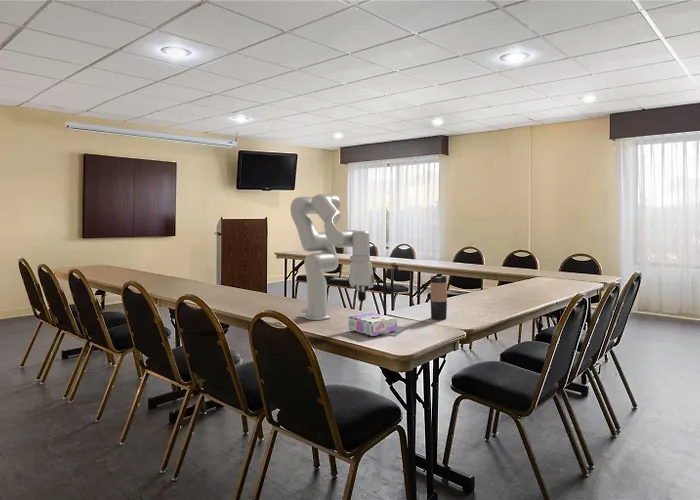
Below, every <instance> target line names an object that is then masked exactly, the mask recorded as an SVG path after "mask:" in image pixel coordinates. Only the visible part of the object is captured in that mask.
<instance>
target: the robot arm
mask: <svg viewBox="0 0 700 500" xmlns="http://www.w3.org/2000/svg"><path fill="white" fill-rule="evenodd" d="M340 208H341V199H339V197H338V196H337V195H336V194H332V193H330V194H329V193H328V194H327V193H320V194H319V193H318V194H316V195H313V196H299V197H296V198H294V199H293V200H292V201H291V203H290V217H291V219H292V221H293V223H294V225H295V227H296V229H297V234H298V237H299V240H300V243H301V246H302V249H303V250H304V252H307V253H310V254H308V255H307V256H306V257H305V258H304V261H303V264H304V269H305V274H306V290H307V291H306V298H307V307H306V308H301V309H300V310H301V313H302V314H304V319H306V320H310V321H323V320H327V319H330V318H331V314H330V313H328V298H327V297H328V294H327V293H328V292H327V291H328V288H327V279H326V277H325V275H324V273H325V272H326V273H328V272H333V271H335V270H337V268H338V267H339V257H338V253H337V250H336V248H338V249H339V248H342V249H343V248H352V255H350V256H349V260H351V261H352V262H351V261H350V266H349V273H348V276H349V277H348V282H349V283H348V284H350V285H349V286H350V287H351V288H353V289H355V290H356V292H357V298H358V302H364V301H365V300H366V297H367V296H366V295H367V292H368V290H369V289H372V288H374V271H373V264H372V262H371V260H370V259H371V253H370V249H371V247H370V244H371V243H370V232H369V231H367V230H356V229H345V230H339V229H338V228H337V226H336V224H338V223H339V222H340V220H341V217H342V215H341V212H340V211H339V210H340ZM313 214H314V215H315V214H316V215H318V216H319V218H320V219H321V220H322V221H323V223H324V226H323V229H324V231H320V232H319V231H317V230H316V227H315V225H314V222H313V221H312V219H311V218H310V217H309V216H308V215H313Z"/></svg>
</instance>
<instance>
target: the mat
mask: <svg viewBox="0 0 700 500" xmlns="http://www.w3.org/2000/svg"><path fill="white" fill-rule="evenodd" d="M408 328H409V326H406V325H397V331H395V332H391V333H385V334H380V335H381V336H388V337H389V336H391V337H396V336H397V335H399V334H401V333H403V332H404V331H405V330H407V329H408ZM357 333H359V334H361V333H360V332H357ZM380 335H379V336H380Z"/></svg>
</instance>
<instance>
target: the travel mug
mask: <svg viewBox="0 0 700 500" xmlns="http://www.w3.org/2000/svg"><path fill="white" fill-rule="evenodd" d="M447 280H448V279H447V276H446V275H445V276H444V275H434V276H433V275H432V276H431V277H430V316H431V317H430V318H431V320H434V321H435V320H436V321H444V320H447V313H448V312H447V310H448V291H447V290H448V287H447V286H448V284H447V283H448V281H447Z"/></svg>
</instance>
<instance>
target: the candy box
mask: <svg viewBox="0 0 700 500" xmlns="http://www.w3.org/2000/svg"><path fill="white" fill-rule="evenodd" d="M397 326H398V318H396V317H392V316H387V315H383V314H378V313H373V312H372V313H365V314H364V313H363V314H358V315H353V316H348V330H350V331H354V332H357V333H358V332H360V333H359V334H364V335H368V336H371V337H374V336H375V337H376V336H380V334H385V333H391V332H395V331H397Z"/></svg>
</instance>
